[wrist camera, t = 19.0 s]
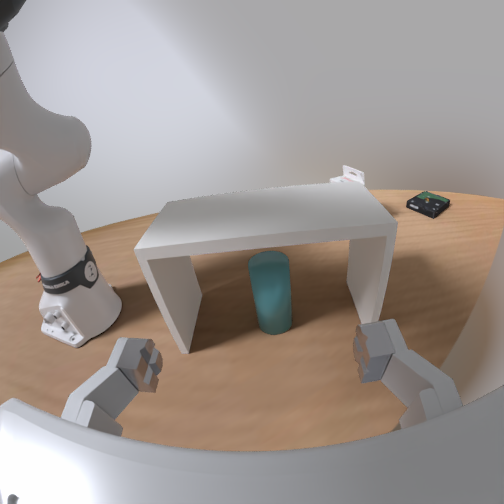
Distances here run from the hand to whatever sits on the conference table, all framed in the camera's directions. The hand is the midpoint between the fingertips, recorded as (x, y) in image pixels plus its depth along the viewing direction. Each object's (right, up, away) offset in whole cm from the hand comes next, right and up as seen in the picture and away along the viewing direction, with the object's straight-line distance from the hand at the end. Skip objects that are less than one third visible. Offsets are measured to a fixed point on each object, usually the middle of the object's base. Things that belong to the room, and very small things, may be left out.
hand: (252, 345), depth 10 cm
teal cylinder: (+4, -8, +34) cm, 35 cm away
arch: (+4, -7, +34) cm, 35 cm away
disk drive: (+55, +17, +61) cm, 84 cm away
